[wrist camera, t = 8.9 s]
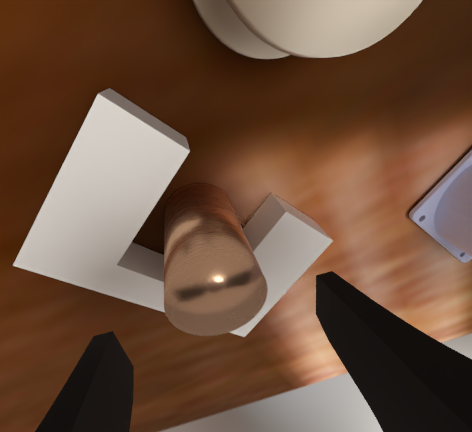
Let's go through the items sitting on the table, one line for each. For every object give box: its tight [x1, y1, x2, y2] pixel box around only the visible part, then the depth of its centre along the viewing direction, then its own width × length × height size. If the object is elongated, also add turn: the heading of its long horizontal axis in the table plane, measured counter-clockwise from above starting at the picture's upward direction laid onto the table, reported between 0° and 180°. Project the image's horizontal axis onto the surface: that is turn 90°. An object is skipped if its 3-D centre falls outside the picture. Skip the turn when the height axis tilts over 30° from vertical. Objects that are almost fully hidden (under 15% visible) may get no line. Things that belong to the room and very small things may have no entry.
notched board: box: [13, 88, 333, 337], centre depth 16 cm, size 14×9×2 cm, turn 54°
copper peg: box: [164, 183, 268, 336], centre depth 14 cm, size 4×4×7 cm
